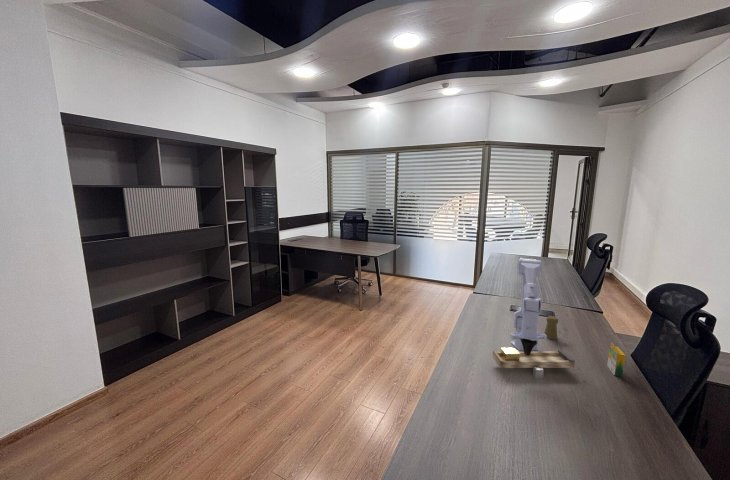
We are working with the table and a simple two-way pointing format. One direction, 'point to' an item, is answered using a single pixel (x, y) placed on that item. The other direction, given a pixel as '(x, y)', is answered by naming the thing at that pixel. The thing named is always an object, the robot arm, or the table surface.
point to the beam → (537, 360)
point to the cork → (551, 327)
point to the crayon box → (616, 360)
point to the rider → (510, 354)
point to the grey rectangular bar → (538, 372)
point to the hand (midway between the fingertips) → (526, 354)
